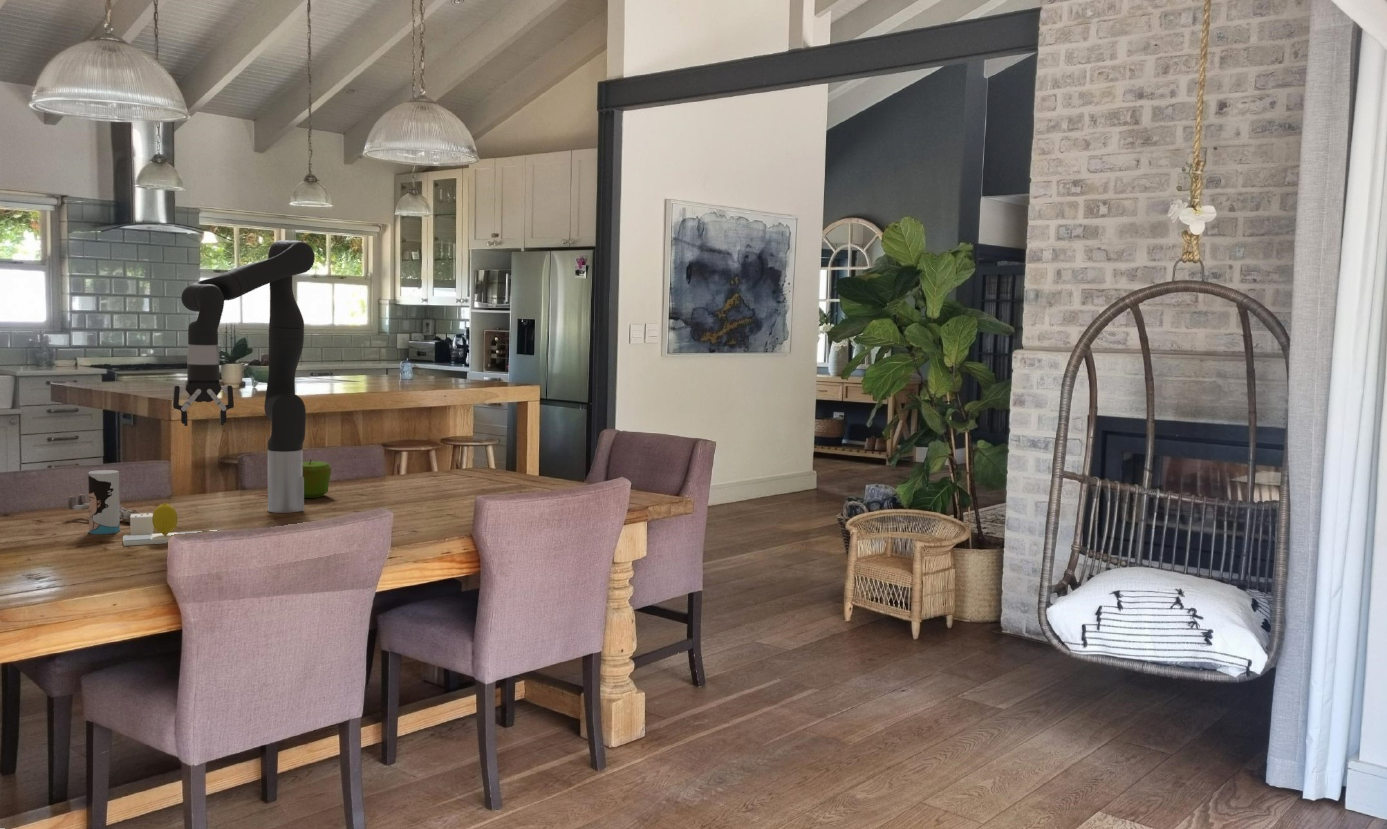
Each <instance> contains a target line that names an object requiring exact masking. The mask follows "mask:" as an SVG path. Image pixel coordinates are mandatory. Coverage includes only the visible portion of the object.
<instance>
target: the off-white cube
mask: <svg viewBox="0 0 1387 829" xmlns="http://www.w3.org/2000/svg"><path fill="white" fill-rule="evenodd" d="M153 513H154V512H147V513H145V512H144V513H141V514H131V516H130V523H129V527H130V529H129V530H130V531H129V532H130V533H129V535H139V534H154V526H153V522H152V517H153Z"/></svg>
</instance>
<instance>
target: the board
mask: <svg viewBox="0 0 1387 829" xmlns="http://www.w3.org/2000/svg"><path fill="white" fill-rule="evenodd" d="M217 530H218V529H215V530H214V529H213V530H210V531H217ZM202 531H203V530H199V531H198V530H197V531H196V530H195V531H194V530H193V531H178V532H169V533H168V534H167V535H163V534H162V533H160V532H158V533H153V534H139V535H130V534H125V535H123V536H122V542H123V546H124V547H125V546H128V547H129V546H141V545H159V544H160V545H162V544H168V543H167V541H168V539H169V537H170V536H171V535H174V534H185V533H197V532H202Z"/></svg>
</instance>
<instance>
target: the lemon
mask: <svg viewBox="0 0 1387 829" xmlns="http://www.w3.org/2000/svg"><path fill="white" fill-rule="evenodd" d="M152 513H153V517H152V522H153V529H155V531H156V532H158V533H162V534H163V535H167V534H168V533H172V531H174V530H175V529H176V527H177V525H178V514H177V511H176V508H175V507H174V506H173V505H171V504H168V503H167V502H163V503H162V504H160V505H158V506H157V507H156V508H155V509H154V511H153V512H152Z"/></svg>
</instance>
